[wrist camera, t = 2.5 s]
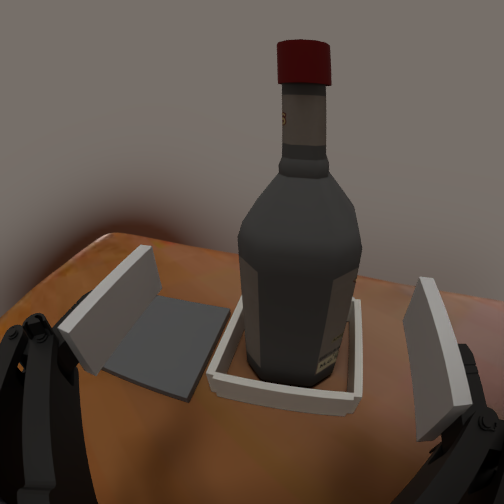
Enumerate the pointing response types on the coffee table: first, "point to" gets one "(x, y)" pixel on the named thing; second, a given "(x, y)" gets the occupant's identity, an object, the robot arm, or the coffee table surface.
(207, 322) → the slate coaster
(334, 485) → the coffee table surface
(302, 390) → the bottle holder
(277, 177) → the liquor
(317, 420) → the coffee table surface
